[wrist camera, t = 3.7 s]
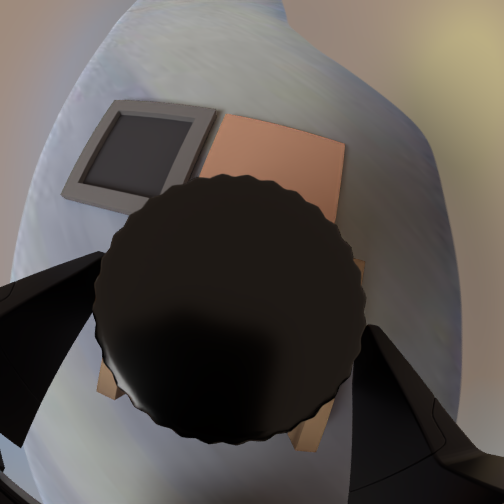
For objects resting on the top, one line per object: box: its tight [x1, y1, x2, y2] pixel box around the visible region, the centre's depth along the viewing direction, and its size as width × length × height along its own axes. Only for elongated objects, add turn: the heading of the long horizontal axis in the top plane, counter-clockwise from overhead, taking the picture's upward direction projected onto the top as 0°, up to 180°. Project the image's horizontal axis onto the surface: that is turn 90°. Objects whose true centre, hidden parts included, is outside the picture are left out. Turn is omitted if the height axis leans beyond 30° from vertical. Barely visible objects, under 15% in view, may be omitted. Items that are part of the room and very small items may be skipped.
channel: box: [97, 258, 365, 452], centre depth 14 cm, size 11×12×2 cm
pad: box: [199, 114, 345, 224], centre depth 18 cm, size 9×9×1 cm
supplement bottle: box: [92, 174, 366, 445], centre depth 10 cm, size 7×7×12 cm
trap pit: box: [61, 100, 216, 215], centre depth 18 cm, size 9×9×1 cm
